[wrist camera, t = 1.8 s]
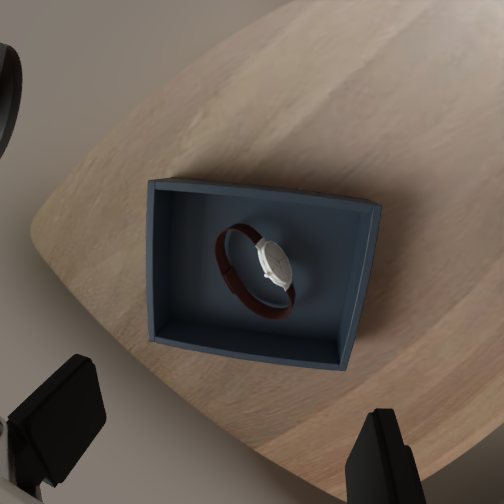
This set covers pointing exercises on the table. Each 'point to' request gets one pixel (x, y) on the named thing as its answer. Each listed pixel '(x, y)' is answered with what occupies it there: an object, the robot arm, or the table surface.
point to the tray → (257, 270)
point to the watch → (272, 265)
